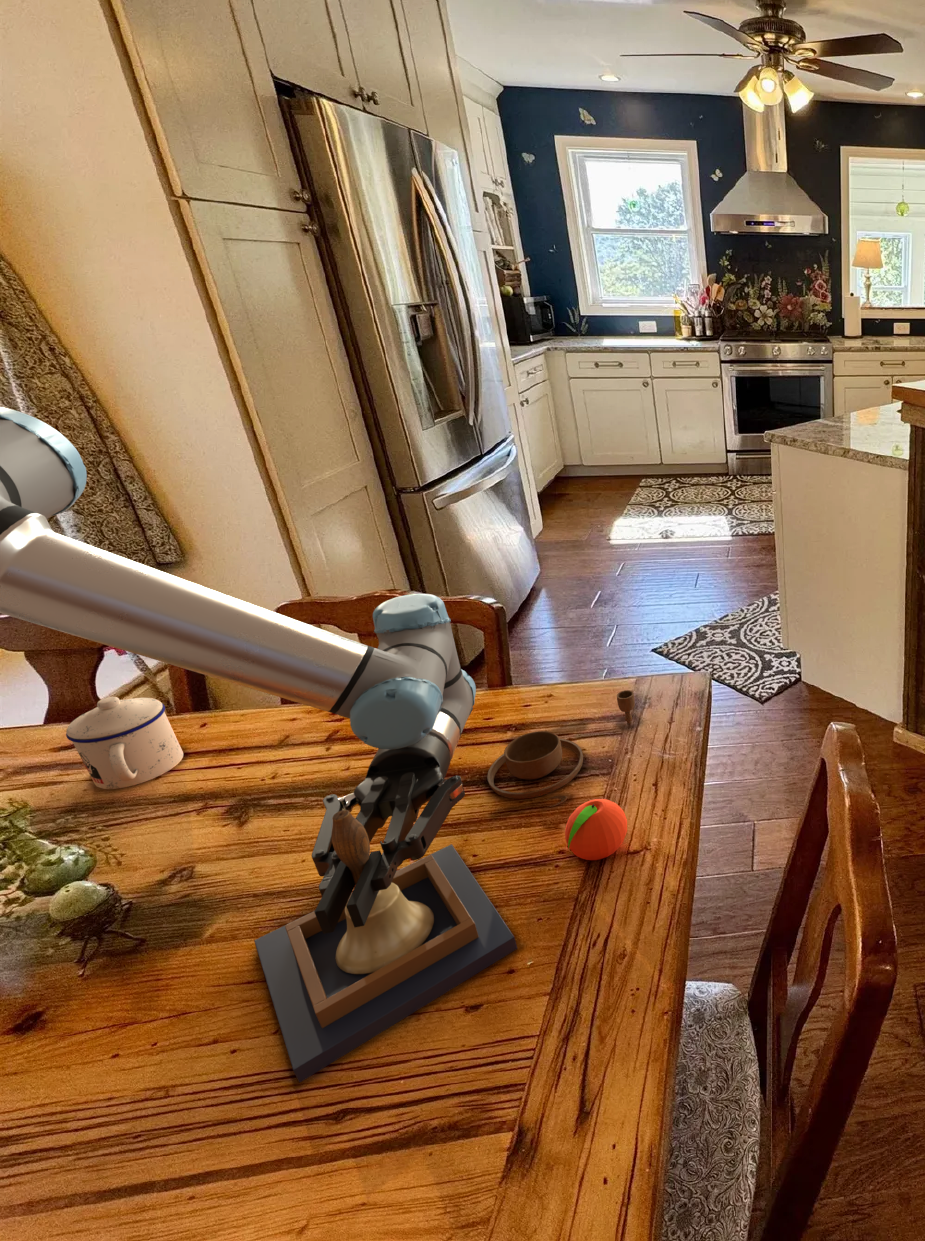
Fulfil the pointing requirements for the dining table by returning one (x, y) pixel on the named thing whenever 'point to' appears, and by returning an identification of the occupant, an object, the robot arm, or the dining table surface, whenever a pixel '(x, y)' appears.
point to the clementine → (596, 829)
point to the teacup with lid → (125, 741)
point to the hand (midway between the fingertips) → (339, 918)
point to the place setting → (544, 756)
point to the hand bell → (375, 910)
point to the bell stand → (370, 1003)
